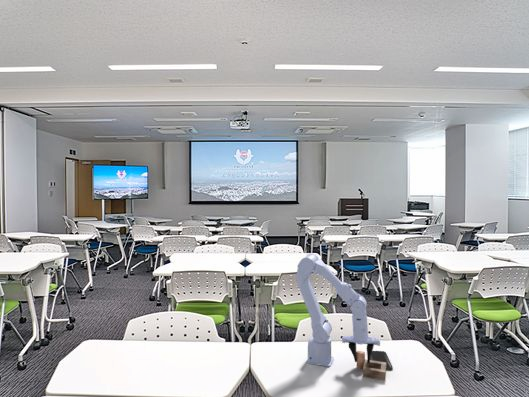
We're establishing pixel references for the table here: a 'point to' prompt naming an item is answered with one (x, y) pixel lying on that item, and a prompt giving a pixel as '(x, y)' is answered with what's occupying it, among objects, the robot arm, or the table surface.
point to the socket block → (374, 370)
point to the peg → (360, 359)
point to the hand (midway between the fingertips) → (362, 361)
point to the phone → (381, 358)
